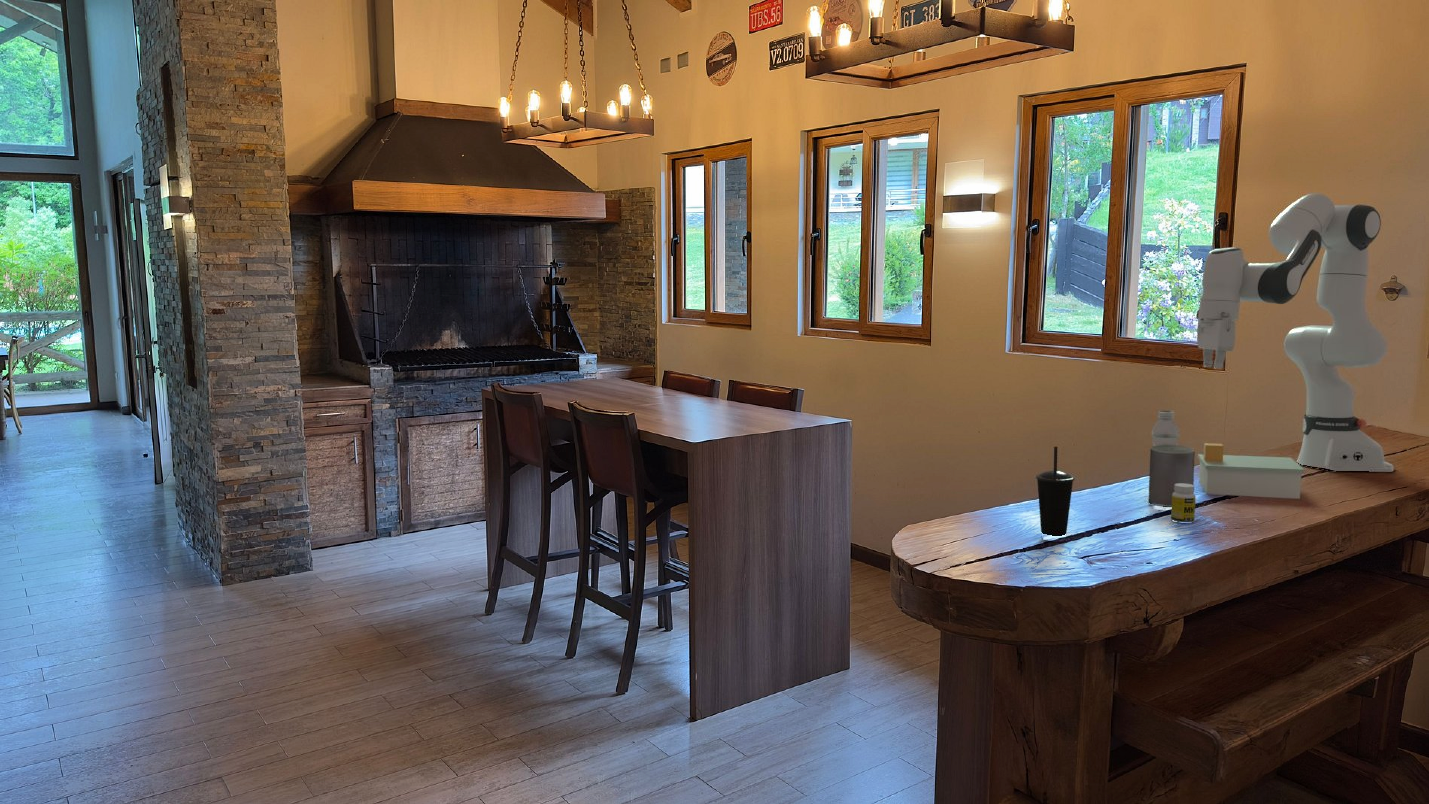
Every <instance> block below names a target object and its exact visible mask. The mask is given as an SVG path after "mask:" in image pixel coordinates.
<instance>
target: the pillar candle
mask: <svg viewBox="0 0 1429 804" xmlns="http://www.w3.org/2000/svg"><path fill="white" fill-rule="evenodd" d="M1195 453H1196V450H1195V448H1193V447H1190V446H1186V445H1178V444H1177V445H1173V443H1172V445H1157V446H1151V447H1150V454H1149V456H1150V457H1149V476H1148V477H1149V481H1148V502H1147V503H1148V504H1149V503H1150V504H1154V505H1159V506H1163V507H1172V494H1173V493H1174V492H1175V491H1174V485H1175V484H1177V483H1185V484H1192V485H1194V483H1195V481H1194V478H1195V477H1194V476H1195V474H1194V473H1195ZM1194 486H1195V485H1194ZM1150 504H1149V505H1150Z"/></svg>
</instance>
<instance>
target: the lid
mask: <svg viewBox="0 0 1429 804" xmlns="http://www.w3.org/2000/svg"><path fill="white" fill-rule="evenodd" d="M1197 459H1198V460H1199V463H1200V462H1201V463H1202V465H1203V466H1204V468H1205V469H1206V470H1228V471H1252V472H1275V473H1299V474H1301V475H1303V474H1305V468H1303V466H1302V465H1300V464H1298V463H1296V462H1297V461H1295V460H1294V459H1293V458H1292V457H1284V456H1282V457H1281V456H1262V455H1260V456H1257V455H1256V456H1255V455H1254V456H1253V455H1229V454H1224V445H1223V443H1210V442H1209V443H1207V442H1204V443H1203V454H1201V453H1198V454H1197Z"/></svg>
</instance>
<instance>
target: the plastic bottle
mask: <svg viewBox="0 0 1429 804" xmlns="http://www.w3.org/2000/svg"><path fill="white" fill-rule="evenodd" d="M1157 419H1158V421H1156V423H1155V424H1154V426H1153V428H1152V429H1151V437H1152V445H1153V446H1157V445H1172V443H1173V445H1178V442H1179V437H1180V430H1179V428H1178V426H1177V424H1176V423H1175V422H1174V419H1175V411H1174V410H1167V409H1165V410H1164V409H1163V410H1162V409H1161V410H1158V415H1157Z"/></svg>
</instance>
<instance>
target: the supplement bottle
mask: <svg viewBox="0 0 1429 804" xmlns="http://www.w3.org/2000/svg"><path fill="white" fill-rule="evenodd" d="M1174 491H1175V492H1174V493H1173V494H1172V509H1170V510H1171V511H1170V512H1171V513H1170V520H1171V519H1172V520H1174V521H1177V522H1194V523H1195V519H1196V518H1195V515H1196V514H1195V513H1196V497H1197V496H1196V494H1195V485H1192V484H1185V483H1177V484H1175V485H1174Z"/></svg>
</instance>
